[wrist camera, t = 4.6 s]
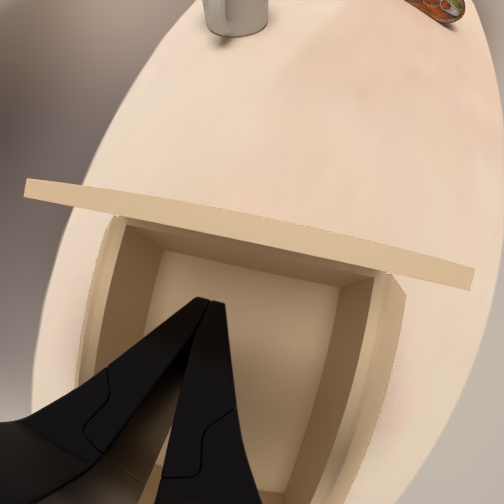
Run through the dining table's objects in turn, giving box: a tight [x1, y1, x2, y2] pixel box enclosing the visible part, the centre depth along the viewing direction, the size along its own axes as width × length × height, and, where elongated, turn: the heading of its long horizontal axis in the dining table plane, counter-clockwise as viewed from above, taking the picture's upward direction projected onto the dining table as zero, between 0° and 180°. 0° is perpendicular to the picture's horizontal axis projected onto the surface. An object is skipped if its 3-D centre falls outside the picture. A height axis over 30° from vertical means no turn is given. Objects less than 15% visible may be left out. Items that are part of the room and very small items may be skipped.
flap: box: [24, 178, 474, 291], centre depth 10 cm, size 7×13×1 cm
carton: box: [74, 216, 406, 504], centre depth 15 cm, size 22×22×7 cm
